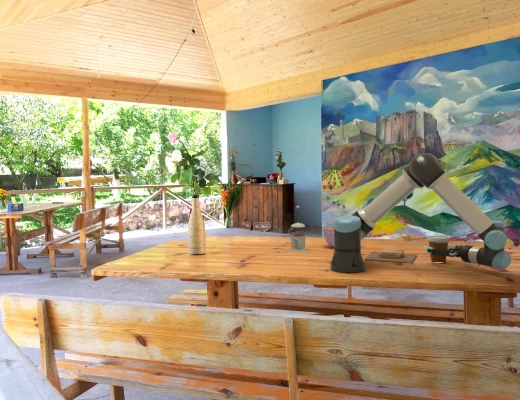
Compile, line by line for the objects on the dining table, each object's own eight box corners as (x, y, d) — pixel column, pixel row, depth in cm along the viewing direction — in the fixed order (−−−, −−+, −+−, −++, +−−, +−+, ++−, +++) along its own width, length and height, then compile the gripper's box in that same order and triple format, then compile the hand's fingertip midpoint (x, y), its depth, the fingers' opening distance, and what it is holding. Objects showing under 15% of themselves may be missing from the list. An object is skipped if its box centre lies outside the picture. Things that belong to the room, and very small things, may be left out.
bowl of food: (323, 244, 269) (323, 224, 268) (357, 244, 265) (357, 225, 264) (321, 249, 249) (321, 229, 249) (358, 250, 245) (358, 229, 244)
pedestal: (411, 264, 208) (411, 255, 208) (364, 260, 217) (364, 252, 217) (416, 255, 228) (416, 248, 228) (373, 253, 237) (373, 245, 237)
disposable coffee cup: (451, 264, 206) (451, 238, 205) (429, 264, 208) (429, 238, 207) (446, 260, 215) (447, 235, 215) (426, 260, 217) (426, 235, 216)
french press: (299, 252, 243) (299, 206, 241) (283, 250, 251) (282, 205, 249) (310, 250, 250) (310, 205, 248) (294, 247, 258) (294, 204, 256)
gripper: (453, 266, 189) (414, 258, 208) (491, 260, 201) (451, 252, 220) (453, 248, 189) (414, 242, 208) (491, 243, 201) (451, 237, 219)
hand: (433, 247), depth 214 cm, fingers open, 13 cm apart
